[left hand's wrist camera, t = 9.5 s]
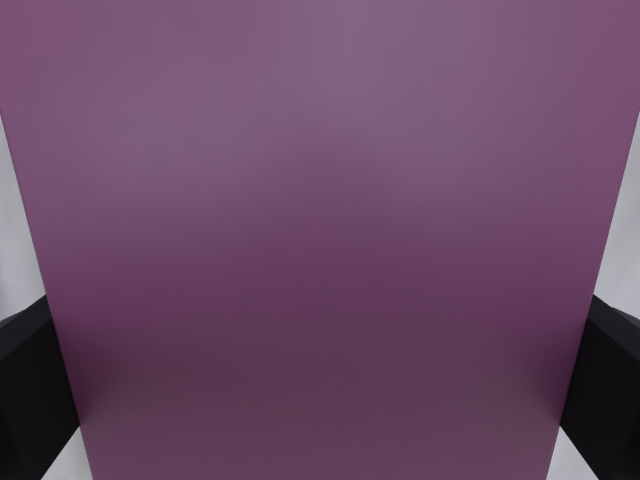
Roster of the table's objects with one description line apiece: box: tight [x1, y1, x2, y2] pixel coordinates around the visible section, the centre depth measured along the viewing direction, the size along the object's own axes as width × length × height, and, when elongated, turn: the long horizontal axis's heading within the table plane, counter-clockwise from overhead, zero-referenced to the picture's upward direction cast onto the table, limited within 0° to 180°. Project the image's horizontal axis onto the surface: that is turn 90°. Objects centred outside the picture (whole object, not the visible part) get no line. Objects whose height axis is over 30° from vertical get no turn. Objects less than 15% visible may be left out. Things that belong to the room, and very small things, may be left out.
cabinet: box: [0, 0, 640, 480], centre depth 12 cm, size 21×11×11 cm, turn 0°
